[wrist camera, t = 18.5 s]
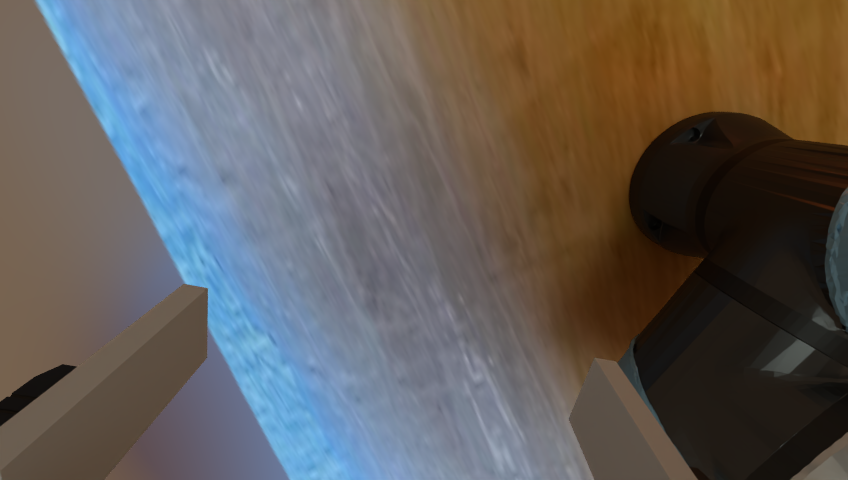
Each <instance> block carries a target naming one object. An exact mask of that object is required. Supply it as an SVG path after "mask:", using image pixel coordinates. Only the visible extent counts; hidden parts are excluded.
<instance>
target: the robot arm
mask: <svg viewBox="0 0 848 480" xmlns="http://www.w3.org/2000/svg"><path fill="white" fill-rule="evenodd" d="M630 207H631V212H632V215H633V217H634V220H635V222H636V224H637V225H638V227H639V228H640V230H641V231H642V232H643V233H644V234H645V235H646V236H647V237H648V238H650V239H651V240H652V241H654V242H655V243H657V244H658V245H660V246H662V247H663V248H665V249H667V250H669V251H672V252H674V253H677V254H681V255H686V256H692V257H700V258H705V259H704V260H703V261H702V262H701V264H700V265H699V266H698V267H697V268H696V270H694V271H693V272H692V274H691V275H690V276H689V277H688V278H687V280H686V281H685V282H684V283H683V284H682V285H681V287H680V288H679V289H678V290H677V291H676V293H675V294H674V295H673V296H672V297H671V299H670V300H669V301H668V302H667V303H666V304H665V306H664V307H663V308H662V309H661V310H660V312H659V313H658V314H657V315H656V316H655V317H654V318H653V320H652V321H651V322H650V323H649V324H648V325H647V326H646V327H645V329H644V330H643V331H642V332H641V333H640V334H638V335H637V336H635V337H634V338H633V339H632V341H631V343H630V346H629V348H628V350H627V351H626V353H625V354H624V355H623V357H622V358H621V359H620V361H619V362H618V363H617V362H616V361H611V360H605V359H600V358H594V360H593V362H592V365H591V367H590V369H589V372H588V374H587V377H586V379H585V381H584V384H583V386H582V388H581V391H580V393H579V396H578V398H577V400H576V403H575V405H574V407H573V410H572V412H571V415H570V417H569V421H570V423H571V425H572V428H573V430H574V433H575V435H576V437H577V440H578V442H579V444H580V447H581V449H582V451H583V454H584V456H585V458H586V461H587V463H588V465H589V468H590V470H591V472H592V475H593V477H594V479H595V480H848V146H846V145H837V144H829V143H820V142H812V141H802V140H794V139H792V138H791V137H789V136H788V135H786V134H785V133H783V132H782V131H780V130H778V129H777V128H775V127H774V126H772V125H771V124H769V123H767V122H766V121H764V120H762V119H760V118H757V117H754V116H751V115H747V114H742V113H732V112H709V113H703V114H699V115H695V116H692V117H689V118H687V119H685V120H682V121H680V122H679V123H677V124H675V125H673V126H672V127H670V128H669V129H667V130H666V131H665V132H663V133H662V134H661V135H660V136H659V137H658V138H657V139H656V140H655V141H654V142H653V143H652V144H651V145H650V146H649V147H648V149H647V150H646V151H645V153H644V154H643V156H642V157H641V159H640V161H639V163H638V165H637V167H636V169H635V171H634V174H633V177H632V181H631V186H630ZM207 314H208V288H204V287H198V286H192V285H187V284H183V285H182V286H181V287H179V288H178V289H177V290H175V291H174V292H173V293H172V294H170V295H169V296H168V297H166V298H165V299H164V300H163V301H161V302H160V303H159V304H157V305H156V306H155V307H154V308H152V309H151V310H150V311H148V312H147V313H146V314H145V315H143V316H142V317H141V318H139V319H138V320H137V321H136V322H134V323H133V324H132V325H130V326H129V327H128V328H127V329H125V330H124V331H123V332H121V333H120V334H119V335H118V336H116V337H115V338H114V339H112V340H111V341H110V342H109V343H107V344H106V345H105V346H103V347H102V348H101V349H100V350H98V351H97V352H96V353H94V354H93V355H92V356H91V357H89V358H88V359H87V360H85V361H84V362H83V363H81V364H80V365H79V366H78V367H76V366H70V365H64V364H62V365H60V366H58V367H56V368H54V369H51V370H49V371H47V372H45V373H42V374H40V375H38V376H36V377H34V378H33V379H31V380H30V381H28V382H27V383H26V384H24V385H23V386H21V387H20V388H19V389H17V390H16V391H14V392H13V393H12V395H11V396H10V397H6V398H5V399H3V400H2V401H1V402H0V480H105V478H106V477H107V476H108V475H109V474H110V472H111V471H112V470H113V469H114V468H115V467H116V465H117V464H118V463H119V462H120V461H121V459H122V458H123V457H124V456H125V454H126V453H127V452H128V451H129V450H130V449H131V448H132V446H133V445H134V444H135V443H136V442H137V440H138V439H139V438H140V437H141V436H142V434H143V433H144V432H145V431H146V430H147V428H148V427H149V426H150V425H151V424H152V423H153V421H154V420H155V419H156V418H157V417H158V415H159V414H160V413H161V412H162V411H163V409H164V408H165V407H166V406H167V405H168V403H169V402H170V401H171V400H172V399H173V398H174V396H175V395H176V394H177V393H178V392H179V390H180V389H181V388H182V387H183V386H184V384H185V383H186V382H187V381H188V379H189V378H190V377H191V376H192V375H193V374H194V373H195V371H196V370H197V369H198V368H199V367H200V365H201V364H202V363H203V362H204V361H205V359H206V358H207Z"/></svg>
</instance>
